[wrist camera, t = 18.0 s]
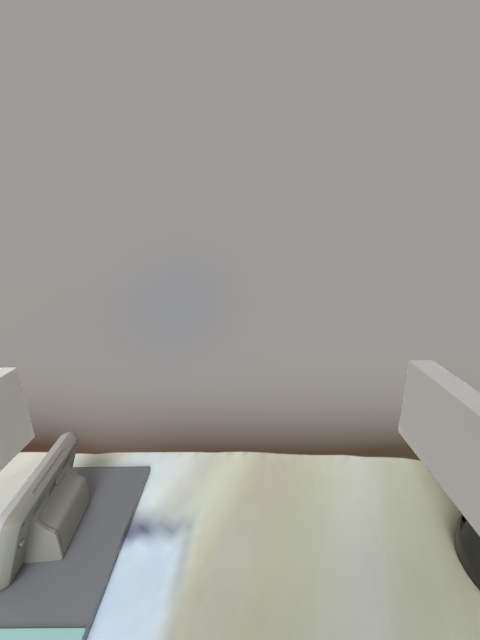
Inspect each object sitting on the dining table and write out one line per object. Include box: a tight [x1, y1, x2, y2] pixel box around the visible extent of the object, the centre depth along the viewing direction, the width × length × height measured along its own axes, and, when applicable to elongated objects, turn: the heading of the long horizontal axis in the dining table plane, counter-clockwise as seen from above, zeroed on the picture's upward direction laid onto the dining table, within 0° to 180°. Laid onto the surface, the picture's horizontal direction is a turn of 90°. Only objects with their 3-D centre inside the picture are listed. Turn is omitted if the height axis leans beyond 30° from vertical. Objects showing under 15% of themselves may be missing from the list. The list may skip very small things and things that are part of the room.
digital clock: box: [0, 431, 90, 591], centre depth 40 cm, size 16×9×11 cm, turn 173°
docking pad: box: [0, 466, 150, 640], centre depth 41 cm, size 18×24×1 cm
